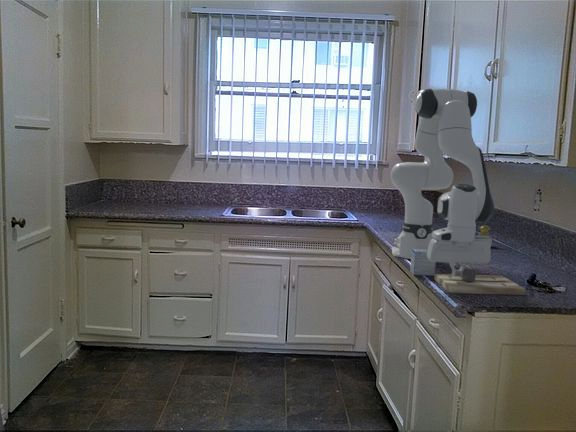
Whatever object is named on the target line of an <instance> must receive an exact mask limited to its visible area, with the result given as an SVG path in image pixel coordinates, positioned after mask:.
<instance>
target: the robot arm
mask: <svg viewBox="0 0 576 432" xmlns="http://www.w3.org/2000/svg"><path fill="white" fill-rule="evenodd" d="M414 107H415V113H416V114H417V115H418V116H419V117H420V118H419V121H418V125H417V128H416V134H415V138H414V139H415V140H414V144H413V146H414V150H415V151H416V152H417V153H418V154H419V155H421V156H422V157H424V161H423V162H416V161H415V162H414V161H413V162H411V161H407V162H400V163H396V164H395V165H393V167H392V168H391V170H390V175H389V176H390V181H391V183H392V185H393V186H394V188H396V189H397V190H398V191H399V193H400V194H401V195H402V198H403V201H404V221H403V223H402V231H401V232H400V234H399V235H398V237H397V238H394V239H393V240H394V242H393V244H394V245H396V246H391V252H392V253H391V254H392V256H393V257H398V258H403V259H408V260H411V253H412V249H420V250H428V252H427V258H428V259H429V260H430V261H431V262H436V263H449V267H450V268H451V274H452V275H453V276H462V273H463V270H464V269H465V268H466V266H468V265H467V264H482V265H488V264H489V263H490V262H491V259H492V258H491V255H492V254H491V253H492V252H491V247H492V241H493V239H492V240H491V238H490V237H491V236H490V237H488V236H486V235H483V236H482V235H479V234H476V230H477V224H476V223H478V224H485V223H486V222H488V221H489V220H491V218H492V217H493V216H494V213H495V204H494V199H493V197H492V194H491V190H490V189H491V188H490V183H489V178H488V172H487V168H486V166H487V165H486V163H485V157H484V153H483V150H482V149H481V148H480V147H478V146H477V145H476V143H475V140H474V138H473V134H472V132H473V129H472V128H473V126H472V117H473V116H475V114H476V112H477V107H478V100H477V96H476V94H475V93H474V92H471V91H469V90H461V89H454V88H453V89H452V88H447V89H446V88H441V89H440V88H439V89H438V88H437V89H436V88H435V89H432V88H425V89H422V90H420V91H419V92H418V93H417V95H416V98H415V102H414ZM444 155H445V156H447V157H449V158H450V159H452V160H454V161H457V162H460V163H461V164H463V165H465V166H466V167H467V168H468V169H469V170H470V173H471V177H472V182H473V185H471V184H466V183H458V184H454V185H452V183H453V181H454V172H453V169H452V167H451V166H449V164H448V163H447V162H446V160H445V156H444ZM451 185H452V187H451V190H450V191H448V192H444V193H442V194H440V196H439V197H438V199H437V203H436V212H437V215H438V216H439V217H440V218H441V219H442V220H445V221H447V227H443V228H440V229H436V230H434V224H433V214H434V206H433V204H432V202H431V201H429V200H428V199H427V198H425V197H423V195H422V191H423V190H425V191H427V190H429V191H439V190H444V189H445V190H446V189H448V188H449V187H450V186H451ZM482 238H483V239H482ZM487 238H489V239H487ZM458 263H459V264H460V267H459V269H457V268H455V267H456V266H457V264H458Z"/></svg>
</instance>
